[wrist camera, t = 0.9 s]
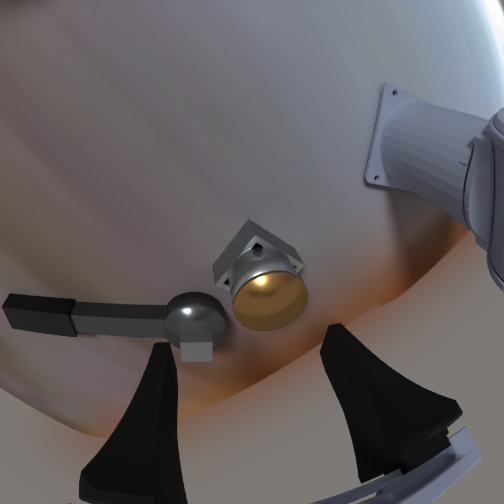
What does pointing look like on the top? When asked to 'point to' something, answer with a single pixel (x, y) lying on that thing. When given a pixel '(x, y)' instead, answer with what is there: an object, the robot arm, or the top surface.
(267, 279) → the socket
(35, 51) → the top surface
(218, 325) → the ratchet
